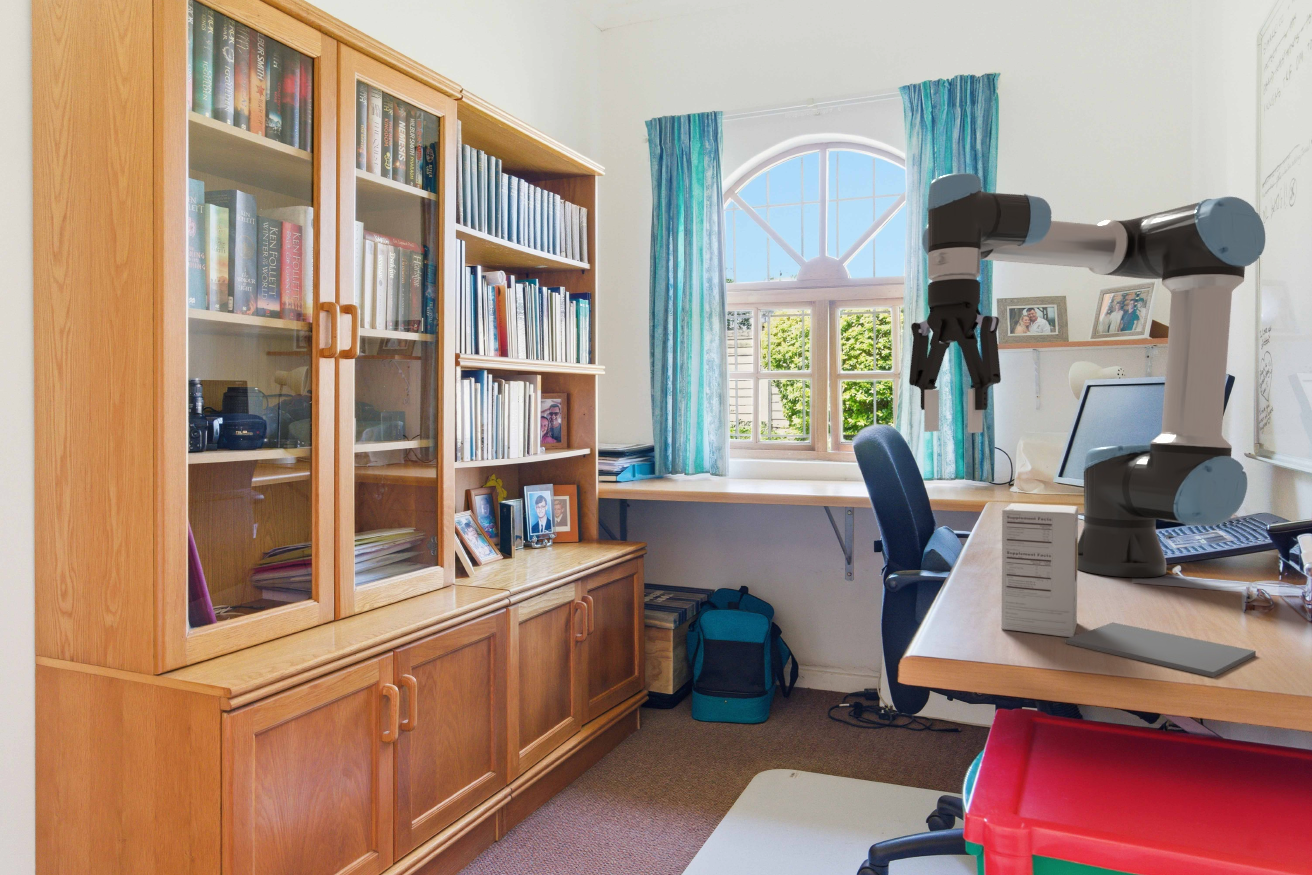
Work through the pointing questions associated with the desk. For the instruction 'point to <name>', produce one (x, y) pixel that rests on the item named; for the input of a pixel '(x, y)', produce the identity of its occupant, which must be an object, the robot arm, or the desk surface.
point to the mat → (1163, 648)
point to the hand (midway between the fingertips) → (952, 431)
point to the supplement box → (1040, 568)
